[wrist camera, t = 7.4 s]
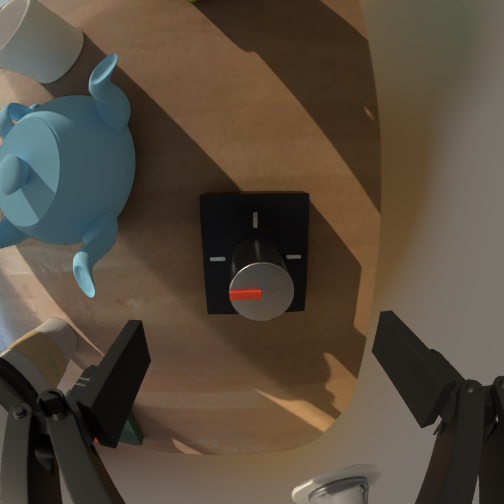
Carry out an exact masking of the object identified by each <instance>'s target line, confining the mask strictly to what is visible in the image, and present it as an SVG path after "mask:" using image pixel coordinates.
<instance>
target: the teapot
mask: <svg viewBox="0 0 504 504" xmlns="http://www.w3.org/2000/svg"><path fill="white" fill-rule="evenodd" d="M117 59H118V56H117V54H115V53H112V54H110V55H108V56H107V57H105V58H104V59H103V60H102V61H101V62H100V63H99V64H98V65H97V67H96V68H95V70H94V71H93V73H92V75H91V77H90V80H89V91H90V93H91V95H92V96H93V97H92V96H85V95H71V96H64V97H60V98H56V99H53V100H51V101H48V102H46V103H44V104H42V105H39V104H35V105H32V106H31V107H30V108H28V107H26V106H24V105H21V104H18V103H9V104H7V105H6V106H5V107H4V108H3V109H2V110H1V112H0V136H1V137H2V139H3V142H2V144H1V147H0V208H1V210H2V212H3V214H4V215H5V217H4V218H3V219H2V220H1V221H0V249H1V248H4V247H8V246H12V245H15V244H18V243H20V242H22V241H24V240H25V239H27V238H28V237H29V236H31V237H33V238H35V239H37V240H39V241H42V242H46V243H50V244H57V245H67V244H76V243H80V242H84V246H83V247H82V248H81V249H80V250H79V251H78V252H77V253H76V255H75V257H74V260H73V272H74V276H75V279H76V281H77V283H78V285H79V287H80V288H81V290H82V291H83V292H84V293H85V294H86V295H87V296H88V297H91V298H92V297H94V295H95V286H94V281H93V276H92V267H93V265H94V264H95V262H97V261H98V260H99V259H100V258H102V257H103V256H104V255H105V254H106V253H107V252H108V251H109V250H110V248H111V247H112V245H113V244H114V242H115V240H116V237H117V233H118V224H117V217H118V216H119V214H120V213H121V211H122V209H123V208H124V206H125V204H126V202H127V199H128V197H129V194H130V192H131V188H132V185H133V180H134V174H135V149H134V143H133V140H132V136H131V133H130V130H129V128H128V126H127V124H128V122H129V118H130V115H131V109H130V103H129V101H128V99H127V97H126V95H125V94H124V92H123V91H122V90H121V89H120V88H119V87H117V86H116V85H114V84H113V83H111V81H110V79H111V75H112V73H113V70H114V68H115V66H116V63H117ZM11 119H13V120H16V121H18V123H17V124H16V125H15V124H14V123H13V121H12V120H11Z"/></svg>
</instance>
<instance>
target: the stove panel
mask: <svg viewBox="0 0 504 504" xmlns="http://www.w3.org/2000/svg"><path fill="white" fill-rule="evenodd" d="M200 215H201V233H202V249H203V264H204V277H205V289H206V300H207V311H208V314H239V313H238V312H237V311H236V310H235V308H234V307H233V305H232V303H231V300H230V295H229V289H230V278H231V267H232V256H233V251H234V249H235V247H236V245H237V244H238V243H239V242H240V241H241V240H242V239H244V238H246V237H248V236H252V235H261V236H264V237H267V238H269V239H270V240H271V241H273V243H274V244H275V245H276V247H277V249H278V251H279V253H280V255H281V257H282V259H283V262H284V264H285V266H286V268H287V270H288V273H289V275H290V277H291V279H292V282H293V285H294V296H293V300H292V302H291V304H290V306H289V307H288V309H287V310H286V311H285V312H295V311H304V310H305V296H306V279H307V258H308V231H309V193H306V192H303V191H245V192H214V193H203V194H202V195H200Z"/></svg>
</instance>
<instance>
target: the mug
mask: <svg viewBox="0 0 504 504" xmlns="http://www.w3.org/2000/svg"><path fill="white" fill-rule="evenodd" d="M83 42H84V36H83V33H82V31H81V30H80V29H79V28H78V27H75V26H72V25H71V24H69V23H68V22H66V21H65V20H64V19H62V18H61V17H59V16H58V15H57V14H55V13H54V12H52V11H51V10H50V9H48V8H47V7H45V6H44V5H42V4H41V3H39V2H38V1H36V0H11V1H10V2H9V3H7V4H6V5H5V6H4V7H3V8H2V9H1V10H0V68H3V69H6V70H9V71H13V72H16V73H19V74H22V75H25V76H28V77H31V78H34V79H36V80H37V81H38V82H40V83H44V84H46V83H51V82H54V81H56V80H57V79H59V78H60V77H62V76H63V75H64V74H65V73H66V72H67V71H68V70H69V69H70V68H71V67H72V66H73V64H74V63H75V62H76V60H77V58H78V57H79V55H80V53H81V50H82V47H83Z"/></svg>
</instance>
